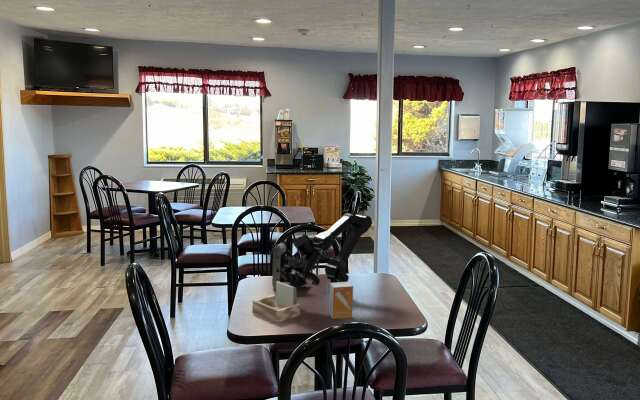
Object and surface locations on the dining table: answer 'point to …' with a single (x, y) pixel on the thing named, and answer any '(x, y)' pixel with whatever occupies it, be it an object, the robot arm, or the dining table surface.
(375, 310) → the dining table surface
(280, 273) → the vintage camera
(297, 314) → the wooden tray
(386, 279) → the dining table surface
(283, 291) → the door
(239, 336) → the dining table surface
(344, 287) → the small box
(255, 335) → the dining table surface
